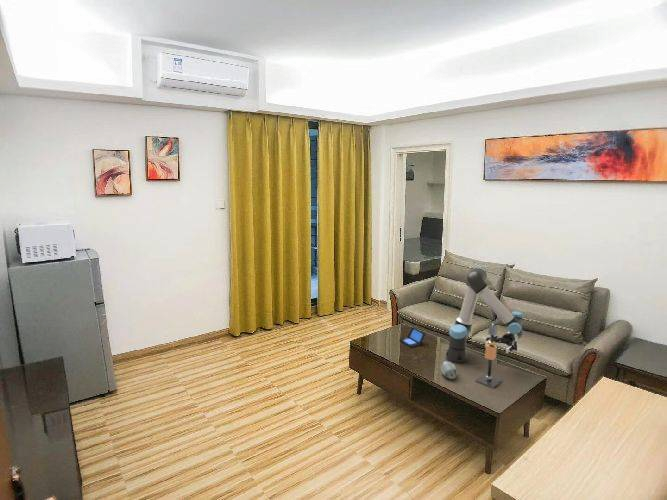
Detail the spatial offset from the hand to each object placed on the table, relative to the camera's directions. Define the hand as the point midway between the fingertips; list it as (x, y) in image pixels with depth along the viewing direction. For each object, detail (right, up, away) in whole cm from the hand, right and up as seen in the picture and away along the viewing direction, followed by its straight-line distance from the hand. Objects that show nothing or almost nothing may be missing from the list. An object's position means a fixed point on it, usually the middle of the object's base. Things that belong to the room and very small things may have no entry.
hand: (495, 347), depth 261 cm
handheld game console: (-43, -10, +57) cm, 72 cm away
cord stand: (-5, -21, -1) cm, 22 cm away
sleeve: (-5, -5, -4) cm, 8 cm away
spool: (-29, -20, +7) cm, 35 cm away
